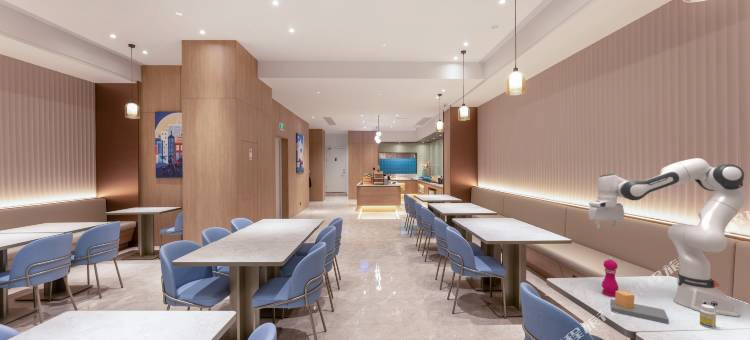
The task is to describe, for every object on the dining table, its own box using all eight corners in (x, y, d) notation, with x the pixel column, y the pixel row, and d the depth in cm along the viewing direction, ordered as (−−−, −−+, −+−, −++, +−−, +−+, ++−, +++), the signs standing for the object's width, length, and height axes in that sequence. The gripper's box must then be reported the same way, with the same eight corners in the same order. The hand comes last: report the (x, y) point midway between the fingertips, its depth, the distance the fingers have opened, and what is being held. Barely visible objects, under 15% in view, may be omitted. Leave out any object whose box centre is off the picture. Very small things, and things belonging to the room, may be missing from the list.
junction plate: (663, 313, 150) (664, 298, 150) (668, 324, 140) (669, 307, 140) (610, 302, 161) (610, 289, 161) (611, 311, 151) (611, 296, 151)
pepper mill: (621, 298, 168) (622, 259, 167) (605, 296, 169) (606, 258, 169) (613, 292, 175) (614, 255, 174) (598, 291, 176) (599, 255, 176)
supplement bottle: (707, 323, 141) (707, 303, 141) (718, 328, 137) (719, 308, 137) (696, 323, 141) (696, 303, 141) (707, 328, 137) (708, 308, 137)
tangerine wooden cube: (623, 303, 156) (624, 290, 156) (633, 307, 151) (634, 295, 151) (615, 303, 155) (615, 291, 155) (624, 308, 150) (625, 295, 150)
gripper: (617, 202, 184) (616, 226, 184) (586, 202, 180) (585, 227, 181) (628, 203, 178) (627, 228, 178) (596, 204, 174) (595, 229, 174)
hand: (606, 228), depth 179 cm, fingers open, 8 cm apart
